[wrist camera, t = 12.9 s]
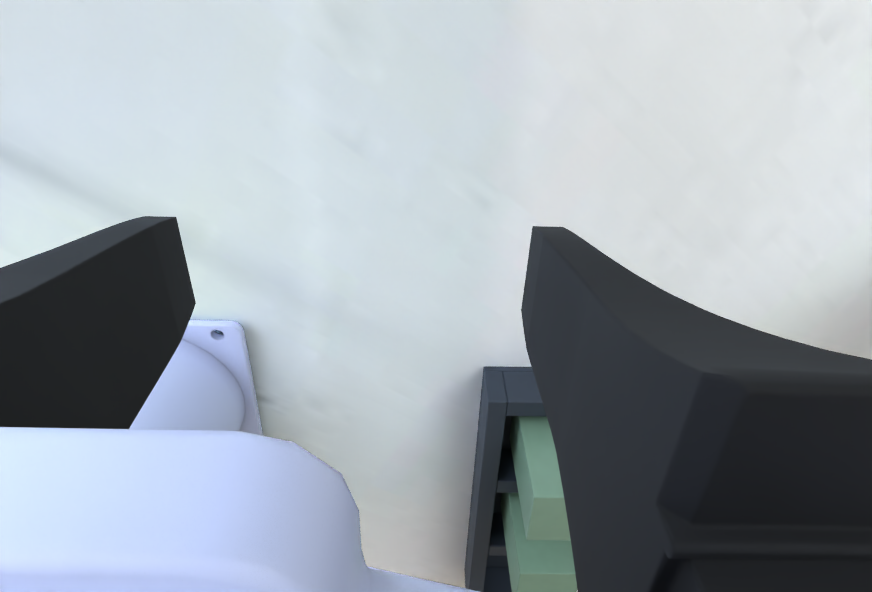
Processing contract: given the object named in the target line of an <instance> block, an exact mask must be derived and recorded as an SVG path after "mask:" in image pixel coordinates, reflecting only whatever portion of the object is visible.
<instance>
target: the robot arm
mask: <svg viewBox="0 0 872 592" xmlns="http://www.w3.org/2000/svg"><path fill="white" fill-rule="evenodd" d="M195 304H196V303H195V298H194V294H193V290H192V285H191V281H190V276H189V272H188V268H187V263H186V259H185V254H184V250H183V246H182V241H181V237H180V232H179V228H178V223H177V219H176V217H151V216H145V217H140V218H135V219H132V220H128V221H125V222H122V223H119V224H116V225H114V226H111V227H108V228H105V229H103V230H100V231H98V232H95V233H92V234H90V235H87V236H85V237H82V238H80V239H77V240H75V241H72V242H70V243H67V244H64V245H62V246H59V247H57V248H54V249H52V250H49V251H46V252H43V253H41V254H38V255H35V256H32V257H30V258H27V259H24V260H21V261H19V262H16V263H13V264H10V265H8V266H5V267H2V268H0V592H479V591H475V590H470V589H466V588H461V587H457V586H452V585H448V584H444V583H439V582H435V581H430V580H426V579H421V578H417V577H412V576H408V575H403V574H399V573H394V572H390V571H386V570H381V569H377V568H372V567H368V566H367V565H366V564H365V560H364V556H363V553H362V549H361V534H360V518H359V509H358V507H357V505H356V503H355V501H354V499H353V497H352V495H351V492H350V490H349V488H348V486H347V484H346V482H345V480H344V478H343V476H342V474H341V473H340V472H338V471H337V470H335V469H334V468H332V467H331V466H329V465H328V464H326V463H325V462H323V461H322V460H320V459H319V458H317V457H316V456H314V455H312V454H311V453H309V452H308V451H306V450H305V449H303V448H302V447H300V446H299V445H297V444H296V443H294V442H292V441H287V440H282V439H277V438H272V437H267V436H263V432H262V426H261V421H260V415H259V410H258V404H257V399H256V393H255V388H254V382H253V377H252V371H251V366H250V360H249V355H248V349H247V344H246V338H245V333H244V329H243V327H242V326H241V325H240V324H239V323H237V322H235V321H224V320H190V317H191V315H192V312H193V309H194V306H195ZM521 311H522V319H523V327H524V334H525V341H526V348H527V352H528V355H529V359H530V362H531V366H532V369H533V372H534V376H535V379H536V383H537V386H538V389H539V393H540V396H541V399H542V403H543V406H544V409H545V413H546V416H547V419H548V423H549V426H550V429H551V433H552V437H553V441H554V445H555V449H556V454H557V459H558V465H559V471H560V477H561V482H562V488H563V494H564V500H565V506H566V513H567V519H568V526H569V532H570V539H571V545H572V553H573V560H574V567H575V575H576V582H577V589H578V592H872V360H870V359H866V358H861V357H856V356H851V355H847V354H842V353H837V352H833V351H828V350H824V349H820V348H817V347H813V346H810V345H806V344H802V343H799V342H795V341H792V340H788V339H784V338H781V337H778V336H775V335H771V334H768V333H765V332H762V331H759V330H756V329H753V328H750V327H747V326H745V325H742V324H739V323H737V322H734V321H731V320H728V319H726V318H723V317H720V316H718V315H715V314H713V313H711V312H708V311H706V310H703V309H701V308H699V307H697V306H695V305H693V304H690V303H688V302H686V301H684V300H682V299H680V298H678V297H676V296H673V295H671V294H669V293H668V292H666V291H664V290H662V289H660V288H658V287H656V286H655V285H653V284H651V283H649V282H648V281H646V280H644V279H643V278H641V277H639V276H637V275H636V274H634V273H632V272H631V271H629V270H628V269H626V268H625V267H623V266H621V265H620V264H618V263H617V262H615V261H614V260H612V259H611V258H609V257H608V256H606V255H605V254H603V253H602V252H601V251H599V250H598V249H596V248H595V247H593V246H592V245H590V244H589V243H588V242H586V241H585V240H583V239H582V238H580V237H579V236H577V235H576V234H574V233H573V232H571V231H569V230H568V229H565V228H563V227H539V226H533V228H532V235H531V243H530V250H529V258H528V265H527V272H526V280H525V287H524V295H523V302H522V309H521ZM214 330H219V331H221V332H222V333H223V335H220V334H217V333H216V332H215V331H214Z"/></svg>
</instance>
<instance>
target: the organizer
mask: <svg viewBox="0 0 872 592" xmlns="http://www.w3.org/2000/svg"><path fill="white" fill-rule="evenodd" d="M512 416H543V417H547V416H546V413H545V409H544V406H543V403H542V399H541V396H540V393H539V389H538V386H537V383H536V379H535V376H534V372H533V369H532V367H484V370H483V381H482V391H481V402H480V412H479V423H478V433H477V444H476V454H475V465H474V476H473V486H472V497H471V507H470V518H469V528H468V539H467V549H466V560H465V586H466V589H470V590H475V591H479V592H512V590H511V582H510V575H509V567H508V559H507V551H506V543H505V536H504V528H503V520H502V512H501V505H500V503H501V496H502V493H518V487H517V481H516V475H515V469H514V463H513V457H512V450H511V444H510V430H511V423H512Z"/></svg>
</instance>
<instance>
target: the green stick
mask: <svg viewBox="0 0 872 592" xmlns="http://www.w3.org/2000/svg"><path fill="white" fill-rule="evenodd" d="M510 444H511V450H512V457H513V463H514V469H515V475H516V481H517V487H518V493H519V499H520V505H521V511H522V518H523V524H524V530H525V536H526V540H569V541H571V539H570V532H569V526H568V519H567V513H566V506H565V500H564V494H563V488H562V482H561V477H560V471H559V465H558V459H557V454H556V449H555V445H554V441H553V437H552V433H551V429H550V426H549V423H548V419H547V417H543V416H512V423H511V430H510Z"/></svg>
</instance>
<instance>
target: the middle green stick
mask: <svg viewBox="0 0 872 592" xmlns="http://www.w3.org/2000/svg"><path fill="white" fill-rule="evenodd" d="M500 505H501V512H502V520H503V528H504V536H505V543H506V551H507V559H508V567H509V575H510V582H511V590H512V592H577V582H576V575H575V567H574V560H573V553H572V545H571V541H569V540H526V536H525V530H524V524H523V518H522V511H521V505H520V499H519V493H502V496H501V503H500Z"/></svg>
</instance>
